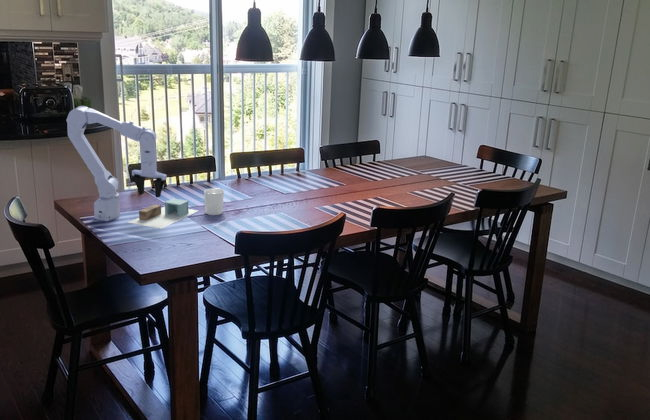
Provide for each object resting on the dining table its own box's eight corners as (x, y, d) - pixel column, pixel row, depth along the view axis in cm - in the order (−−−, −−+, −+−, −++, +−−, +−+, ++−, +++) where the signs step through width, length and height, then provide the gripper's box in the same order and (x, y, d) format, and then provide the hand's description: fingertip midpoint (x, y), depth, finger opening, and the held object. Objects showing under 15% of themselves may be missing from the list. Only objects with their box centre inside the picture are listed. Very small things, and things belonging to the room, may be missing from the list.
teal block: (180, 216, 239) (179, 204, 238) (165, 214, 242) (164, 202, 240) (188, 212, 245) (188, 200, 243) (173, 210, 247) (173, 198, 245)
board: (161, 230, 225) (161, 228, 225) (127, 224, 230) (127, 222, 229) (198, 212, 248) (198, 210, 248) (167, 207, 253) (167, 205, 253)
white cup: (214, 210, 252) (214, 187, 250) (227, 214, 248) (227, 191, 245) (200, 214, 247) (199, 190, 244) (212, 218, 242) (212, 194, 239)
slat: (145, 220, 233) (145, 212, 232) (139, 219, 233) (138, 210, 232) (161, 213, 242) (161, 205, 241) (154, 212, 242) (154, 204, 241)
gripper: (170, 161, 233) (171, 195, 237) (139, 157, 237) (140, 190, 241) (160, 165, 226) (161, 199, 230) (127, 160, 231) (129, 194, 235)
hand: (149, 195), depth 235 cm, fingers open, 7 cm apart
